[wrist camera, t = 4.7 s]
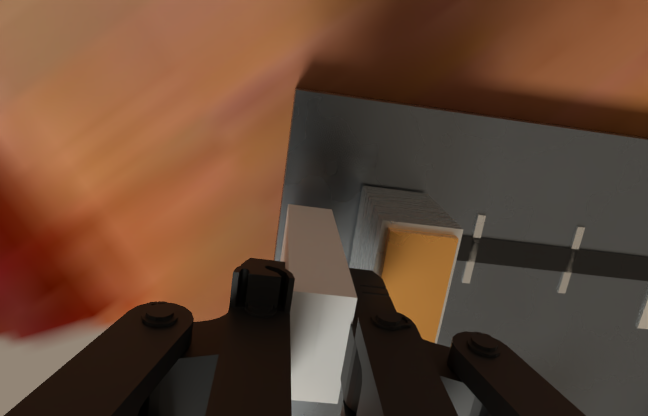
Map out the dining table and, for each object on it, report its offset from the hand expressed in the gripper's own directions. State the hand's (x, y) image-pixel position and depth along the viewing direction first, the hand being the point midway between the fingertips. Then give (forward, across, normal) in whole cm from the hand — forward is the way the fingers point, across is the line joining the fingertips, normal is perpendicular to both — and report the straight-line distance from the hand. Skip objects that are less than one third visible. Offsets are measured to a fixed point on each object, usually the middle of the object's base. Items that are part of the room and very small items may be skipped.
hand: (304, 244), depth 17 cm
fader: (+1, +3, 0) cm, 3 cm away
